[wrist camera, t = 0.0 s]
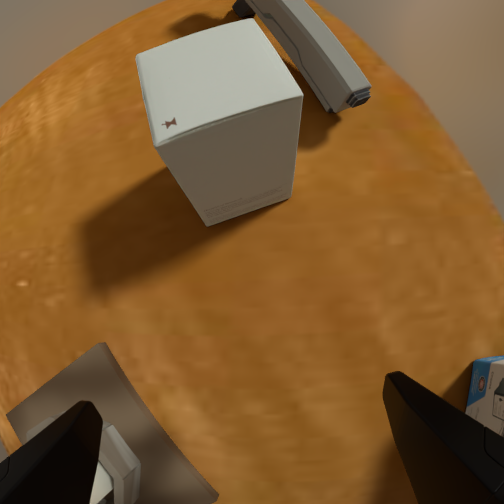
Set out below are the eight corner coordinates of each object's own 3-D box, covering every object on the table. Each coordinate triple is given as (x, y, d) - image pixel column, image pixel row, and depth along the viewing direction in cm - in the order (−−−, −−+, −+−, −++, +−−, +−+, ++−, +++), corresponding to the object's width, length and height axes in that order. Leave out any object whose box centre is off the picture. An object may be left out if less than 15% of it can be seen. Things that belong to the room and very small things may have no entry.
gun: (236, -11, 31) (236, -65, 21) (341, 134, 31) (378, 91, 21) (218, -6, 31) (215, -60, 21) (321, 142, 31) (353, 99, 21)
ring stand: (219, 494, 20) (208, 523, 16) (101, 535, 19) (81, 556, 15) (105, 342, 24) (74, 344, 19) (12, 412, 22) (-17, 420, 18)
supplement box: (293, 199, 25) (309, 98, 13) (205, 229, 25) (148, 149, 13) (263, 127, 27) (255, 14, 14) (183, 153, 27) (130, 53, 14)
